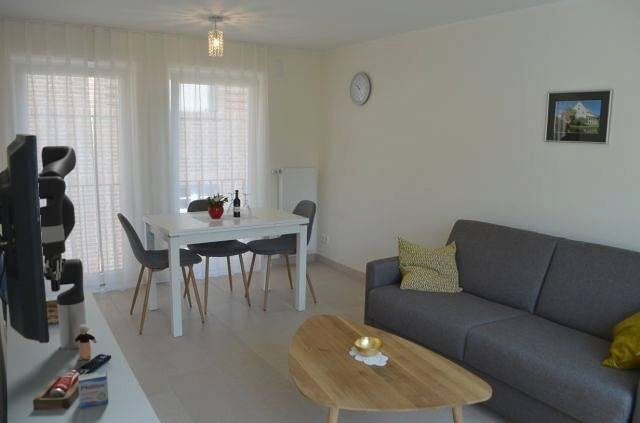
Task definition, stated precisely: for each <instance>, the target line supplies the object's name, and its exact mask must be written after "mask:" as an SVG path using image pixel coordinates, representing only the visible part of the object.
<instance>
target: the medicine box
mask: <svg viewBox="0 0 640 423" xmlns="http://www.w3.org/2000/svg"><path fill="white" fill-rule="evenodd" d="M108 386H109V384H108V372H107V370H104V371H98V372H93V373H92V372H91V373H87V374H80V375H79V376H78V388H79V396H78V398H79V400H78V401H79V408H80V409H85V408H89V407H95V406H100V405H104V404H108V403H109V388H108Z"/></svg>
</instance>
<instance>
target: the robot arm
mask: <svg viewBox="0 0 640 423" xmlns="http://www.w3.org/2000/svg"><path fill="white" fill-rule="evenodd" d="M40 157H41V166H42V170H41V172H39V173H37V174H38V183H39V197H40V199H39V200H46V201H45V204H46V205H44V206H41V207H39V208H40V215H41V232H42V247H43V255H42V256H43V257H44V260H43V261H44V263H43V264H44V267H43V268H44V275H43V276H44V279H45V280H46V281H50V290H51V292H55V293H56V292H59V291H60V290H61V286H65V285H73V286H71V287H70V288H69V289H67V290H65V291H62V292H61V293H59V294H58V295H57V296H56V304H57V315H58V316H57V317H58V327H59V340H60V347H61V349H62V350H76V349H77V350H78V349H79V343H80V341H78V342H77V344H76V345H74V341H75V339H76V337H77V336H78V335H79V334H81V333H80V330H79V327H80V325H83V324H85V325H87V316H86V315H87V314H86V304H85V303H86V302H85V293H84V269H83V268H84V267H83V263H82V260H80V258H70V259H66V258H63V254H64V253H65V252H66V241H67V239H68V238H69V236H70V235H71V233H72V231H73V230H74V228H75V225H76V216H75V215H76V214H75V213H76V212H75V205H74V204H73V201H72V200H71V199H70V198H69V196H68V195H67V194H66V189H67V187H66V186H67V185H66V182H65V178H66V176H68V175H69V174H71V172H73V170H74V169H75V167H76V165H77V156H76V152H75V149H74V148H73V147H72V146H70V145H48V146H43V147H42V149H41V156H40Z"/></svg>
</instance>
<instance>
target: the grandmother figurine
mask: <svg viewBox="0 0 640 423" xmlns="http://www.w3.org/2000/svg"><path fill="white" fill-rule="evenodd" d="M79 330H80V333H81V334H79V335H78V336H77V337H76V339H75V341H74V345H76V344H77V342H78V341H80V343H79V348H78V355H79V356H78V358H77V361H83V360H84V359H85V361H86V360H91V359H92V356H91V355H92V354H91V353H92V350H91V349H92V348H91V342H90V340H91V341H92V342H93V344H97V341H98V340H96V337H95V336H94V335H92V334H90V333H88V332H89V330H90V327H89V326H88V325H87V324H86V325H85V324H83V325H80V327H79Z"/></svg>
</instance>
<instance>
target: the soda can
mask: <svg viewBox="0 0 640 423" xmlns="http://www.w3.org/2000/svg"><path fill="white" fill-rule="evenodd" d="M79 375H81V374H80V372H78V371H77V370H75V369H74V370H67V371H66V372H65V373H64V374H63V376H62V377H61V379H60V380H59V381H58V382H57V383H56V384H55V386H54V387H53V388H52V389H51V391H50V393H49V398H63V397H64V396H65V395H66V394H67V393H68V391H69V390H70V389H71V388H72V387H73V386H74V384H75V383H76V382H77V381H78V376H79Z"/></svg>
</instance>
